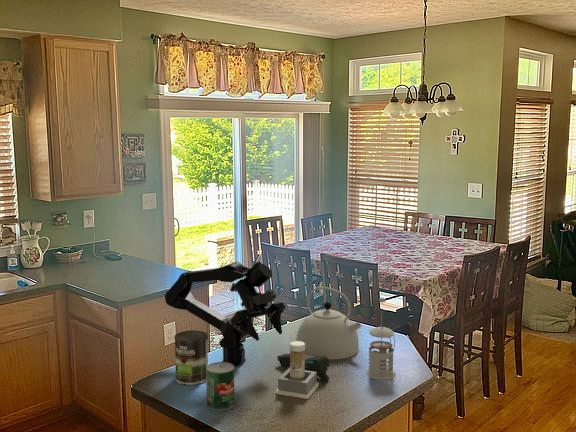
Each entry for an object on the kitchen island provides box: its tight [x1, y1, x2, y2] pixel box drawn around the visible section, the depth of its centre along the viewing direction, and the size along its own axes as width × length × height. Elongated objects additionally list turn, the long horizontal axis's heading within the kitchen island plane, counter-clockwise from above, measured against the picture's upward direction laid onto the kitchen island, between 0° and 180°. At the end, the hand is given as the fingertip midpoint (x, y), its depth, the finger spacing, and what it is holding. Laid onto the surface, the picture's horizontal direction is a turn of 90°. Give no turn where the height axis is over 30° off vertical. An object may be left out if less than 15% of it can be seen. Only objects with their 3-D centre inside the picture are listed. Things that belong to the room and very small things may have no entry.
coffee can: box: [174, 329, 209, 386], centre depth 182 cm, size 10×10×14 cm
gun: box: [276, 353, 330, 383], centre depth 187 cm, size 4×20×10 cm, turn 43°
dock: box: [275, 367, 320, 400], centre depth 174 cm, size 10×10×4 cm
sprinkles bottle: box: [289, 340, 305, 381], centre depth 174 cm, size 5×5×14 cm
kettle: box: [295, 286, 362, 360], centre depth 208 cm, size 25×23×22 cm
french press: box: [365, 297, 397, 381], centre depth 186 cm, size 10×12×25 cm
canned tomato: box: [206, 361, 236, 411], centre depth 164 cm, size 8×8×11 cm
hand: (269, 336), depth 183 cm, fingers open, 9 cm apart
